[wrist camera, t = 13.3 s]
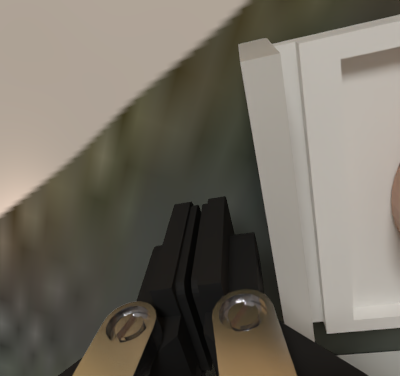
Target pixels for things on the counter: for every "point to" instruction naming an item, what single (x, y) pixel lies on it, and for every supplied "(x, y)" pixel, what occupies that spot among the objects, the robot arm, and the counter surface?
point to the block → (375, 363)
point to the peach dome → (396, 199)
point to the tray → (330, 171)
